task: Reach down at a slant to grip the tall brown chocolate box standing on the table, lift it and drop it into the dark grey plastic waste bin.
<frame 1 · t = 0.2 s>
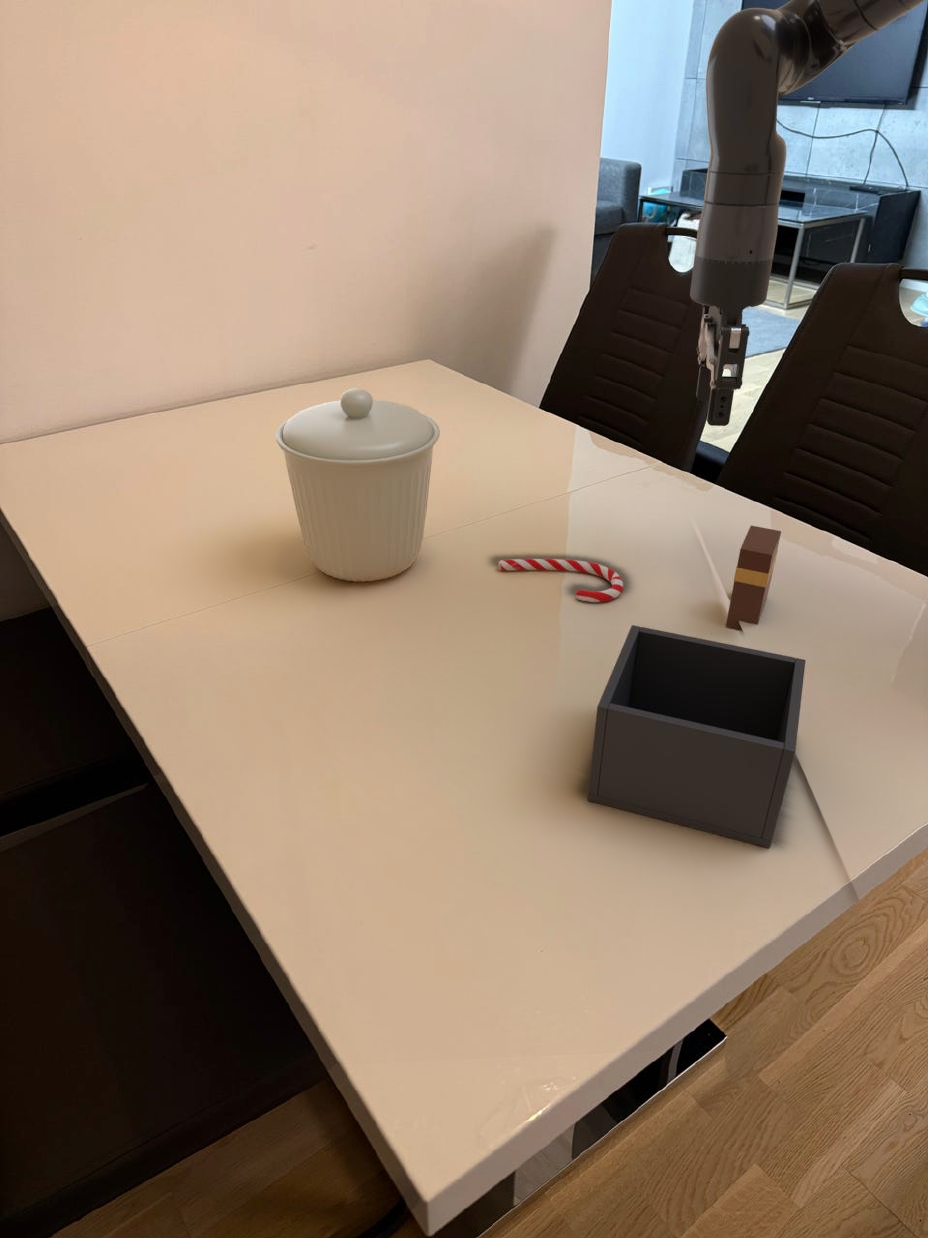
hand: (711, 411, 99), 20 cm above the table, tool pointing down, fingers open, 8 cm apart
candy cane: (558, 583, 107), on the table
canister: (365, 562, 110), on the table
chocolate box: (745, 617, 100), on the table
waste bin: (688, 774, 78), on the table
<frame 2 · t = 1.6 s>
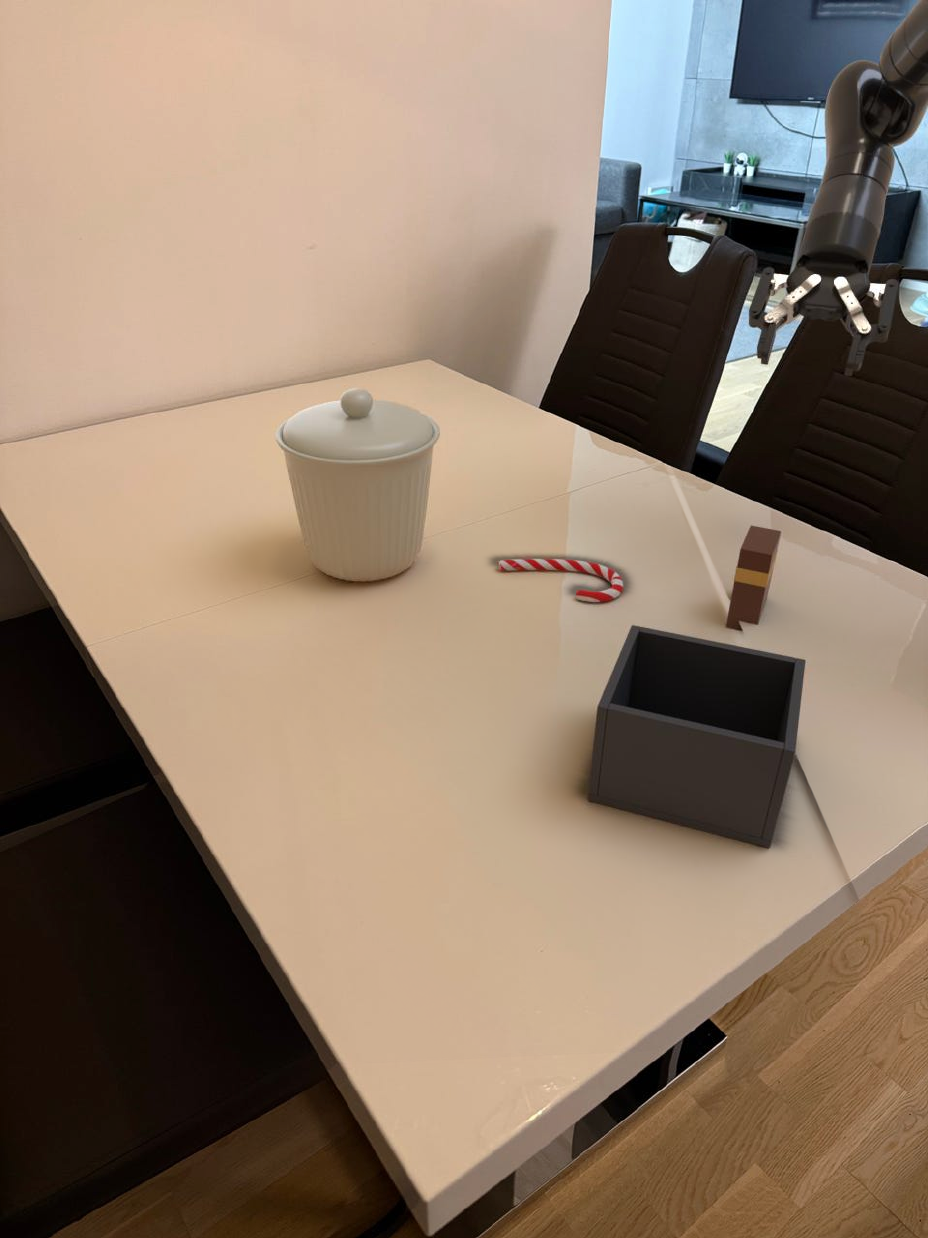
hand: (805, 366, 96), 25 cm above the table, tool tilted 45°, fingers open, 8 cm apart
nothing on the table moved.
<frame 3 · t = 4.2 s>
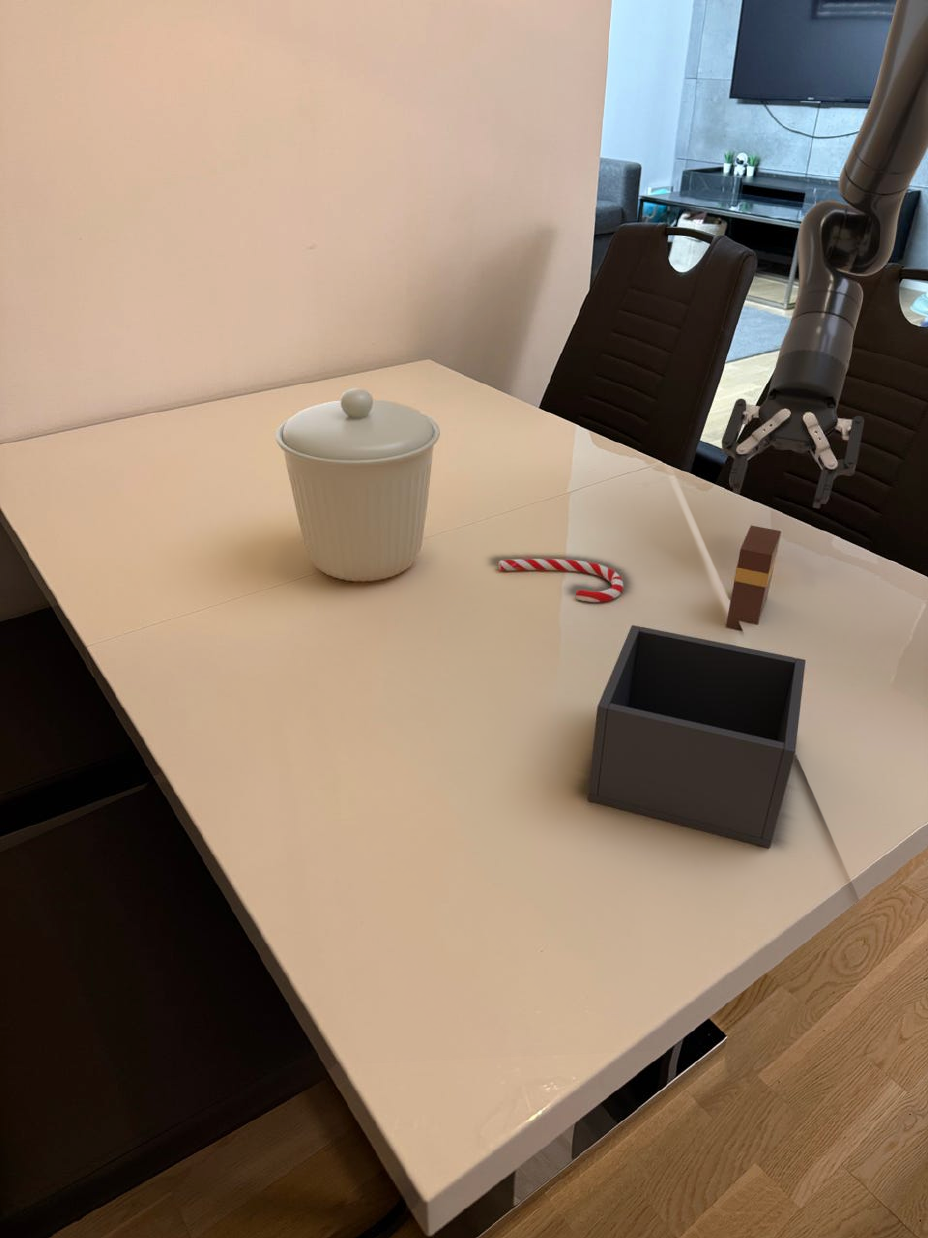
hand: (775, 497, 100), 11 cm above the table, tool tilted 45°, fingers open, 8 cm apart
nothing on the table moved.
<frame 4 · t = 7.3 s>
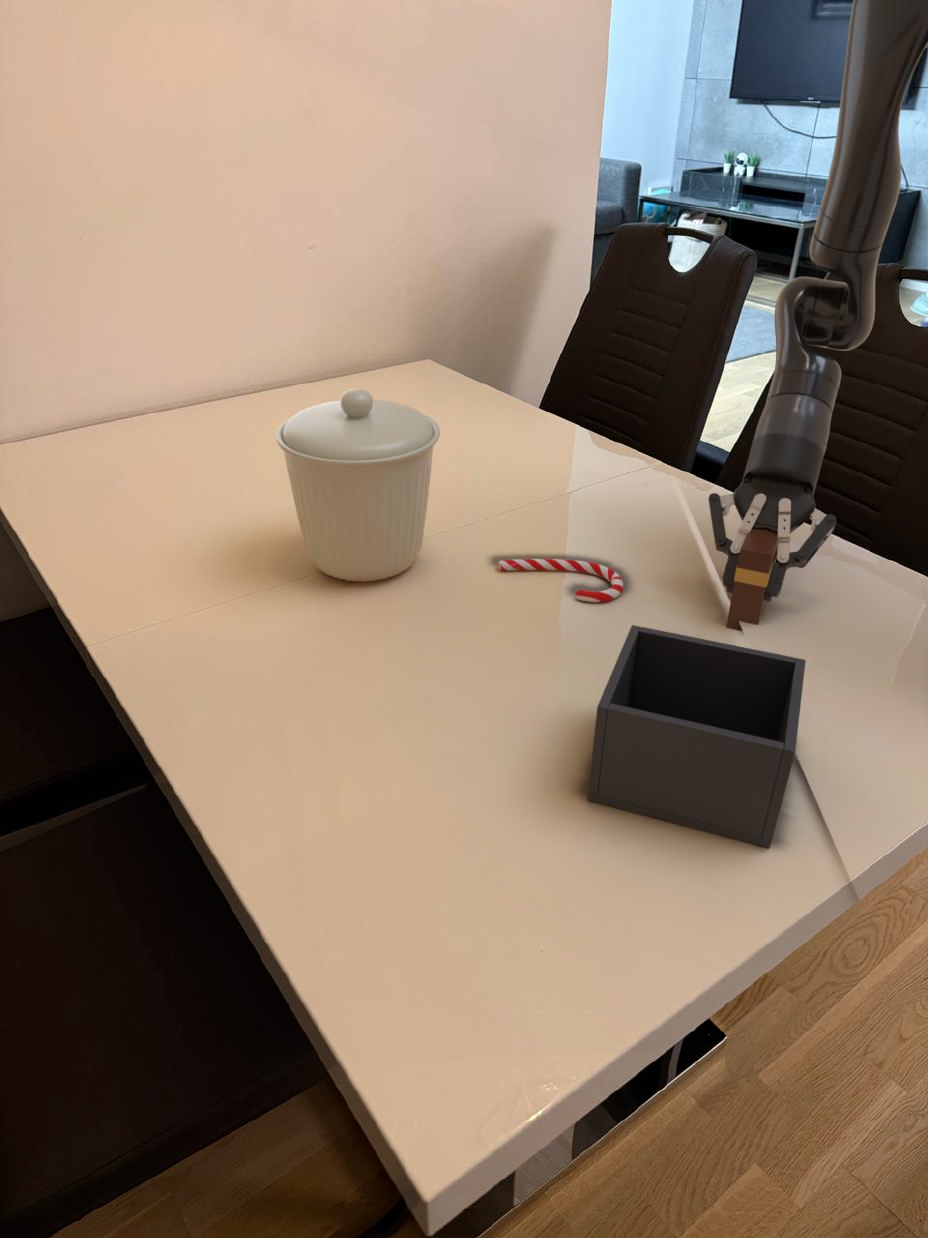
hand: (749, 594, 96), 4 cm above the table, tool tilted 45°, fingers closed on chocolate box, 3 cm apart
chocolate box: (746, 617, 100), on the table, touching gripper
everything else where it was.
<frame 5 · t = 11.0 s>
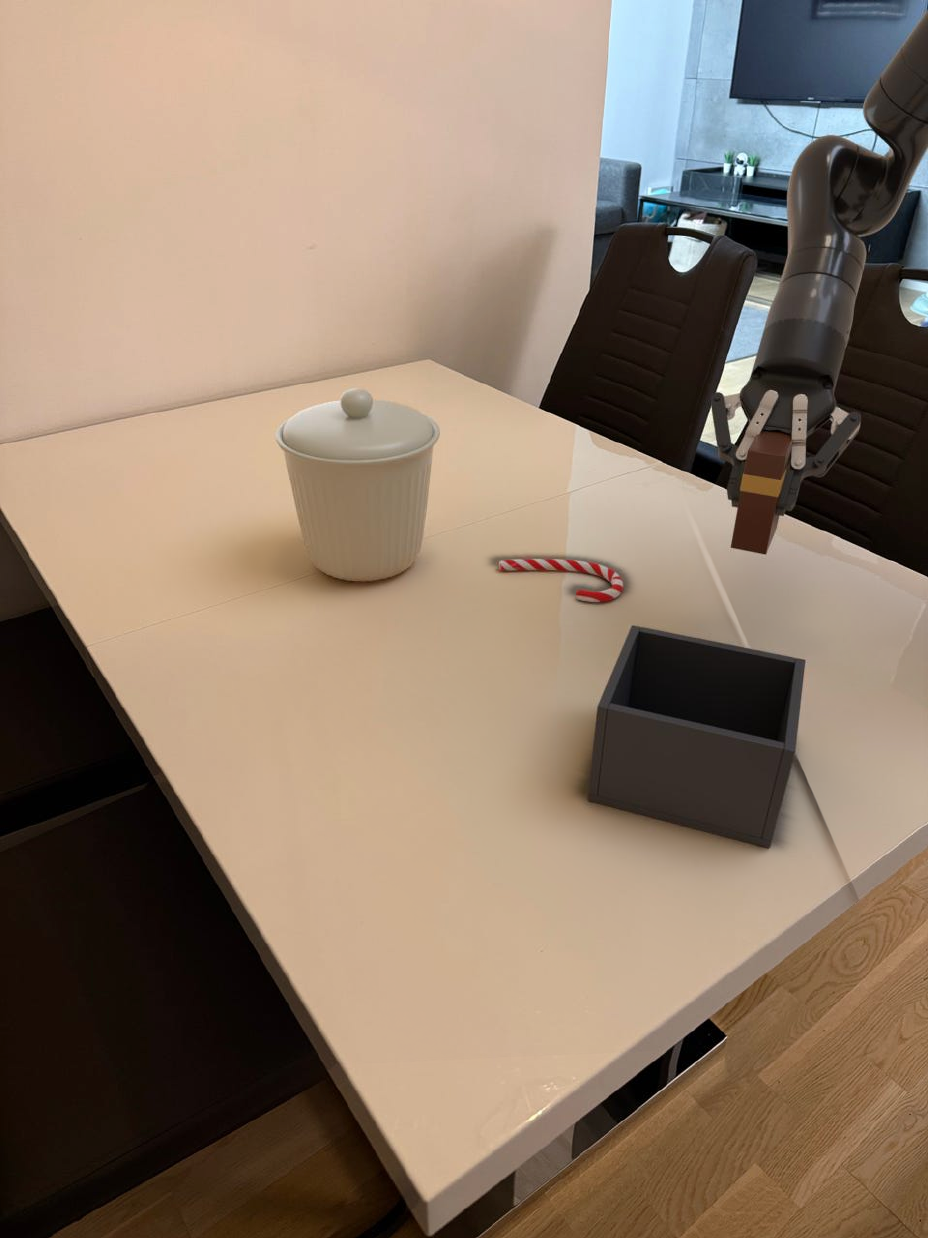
hand: (757, 507, 82), 18 cm above the table, tool tilted 45°, fingers closed on chocolate box, 3 cm apart
chocolate box: (754, 538, 86), point 14 cm above the table, touching gripper
everything else where it was.
when the fingers open (13 cm above the table, at t = 15.2 s): chocolate box drops 7 cm, resting on waste bin.
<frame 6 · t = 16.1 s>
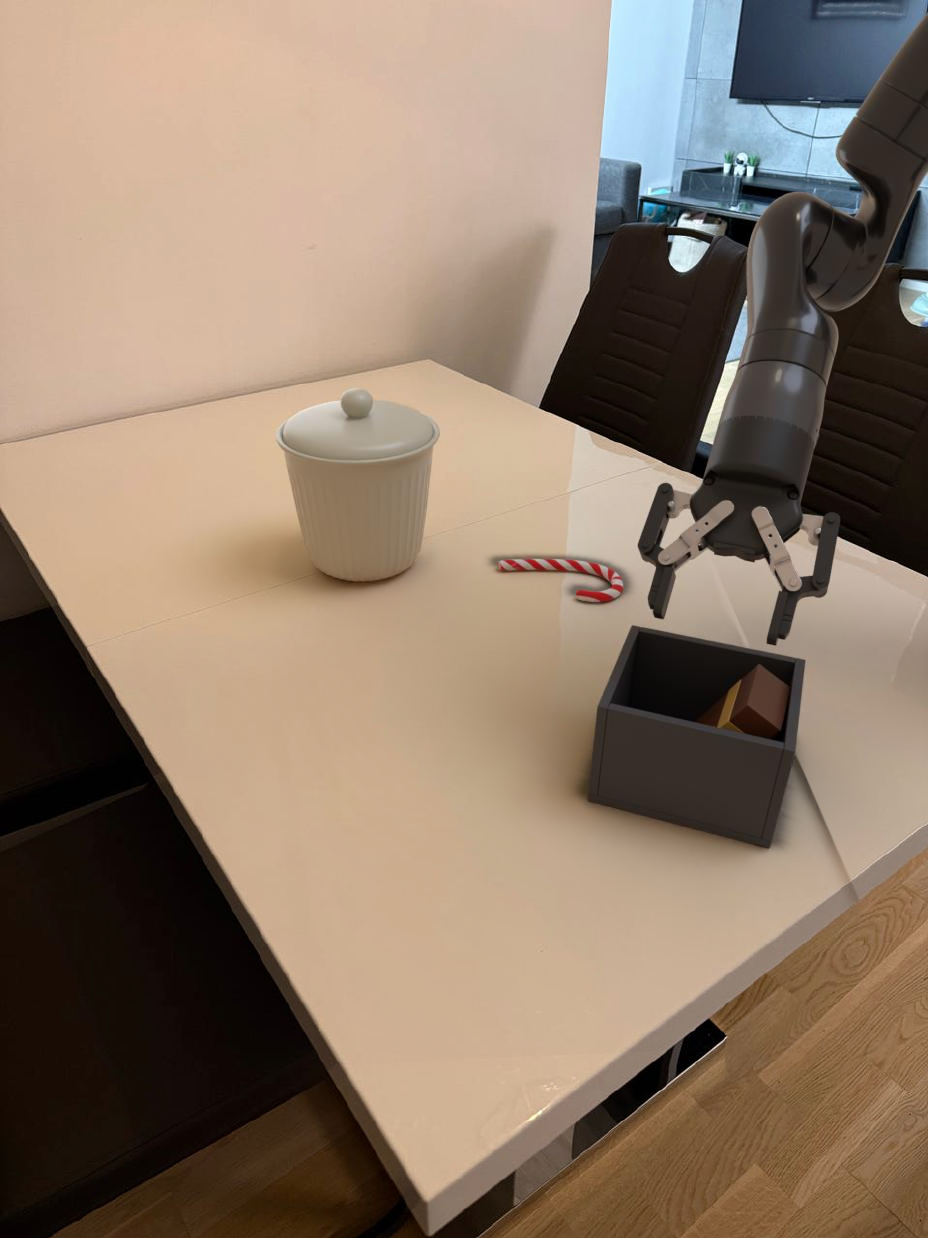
hand: (713, 629, 69), 16 cm above the table, tool tilted 45°, fingers open, 8 cm apart
chocolate box: (694, 760, 77), point 2 cm above the table, tilted 30°, touching waste bin
everything else where it was.
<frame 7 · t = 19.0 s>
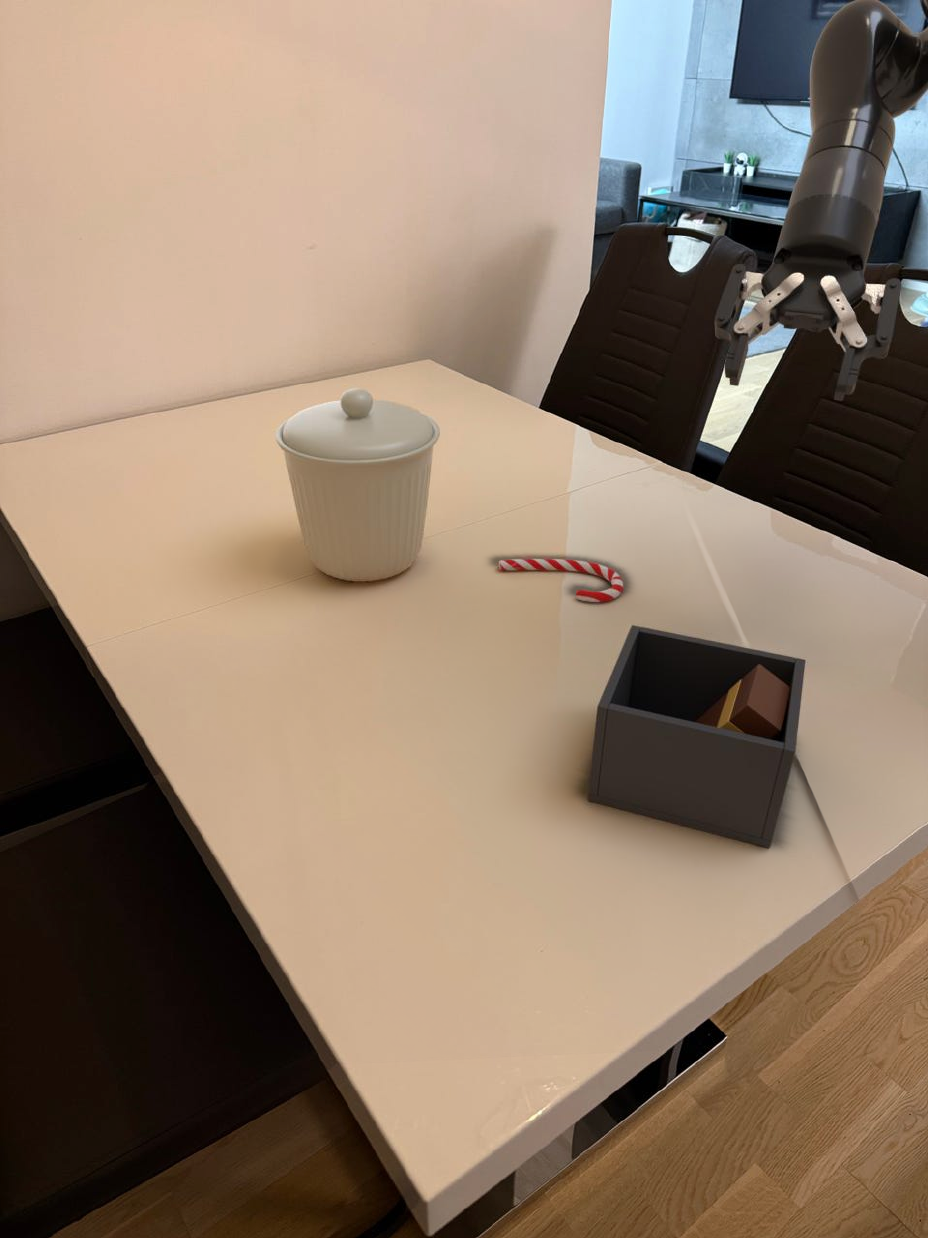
hand: (785, 388, 76), 29 cm above the table, tool tilted 45°, fingers open, 8 cm apart
nothing on the table moved.
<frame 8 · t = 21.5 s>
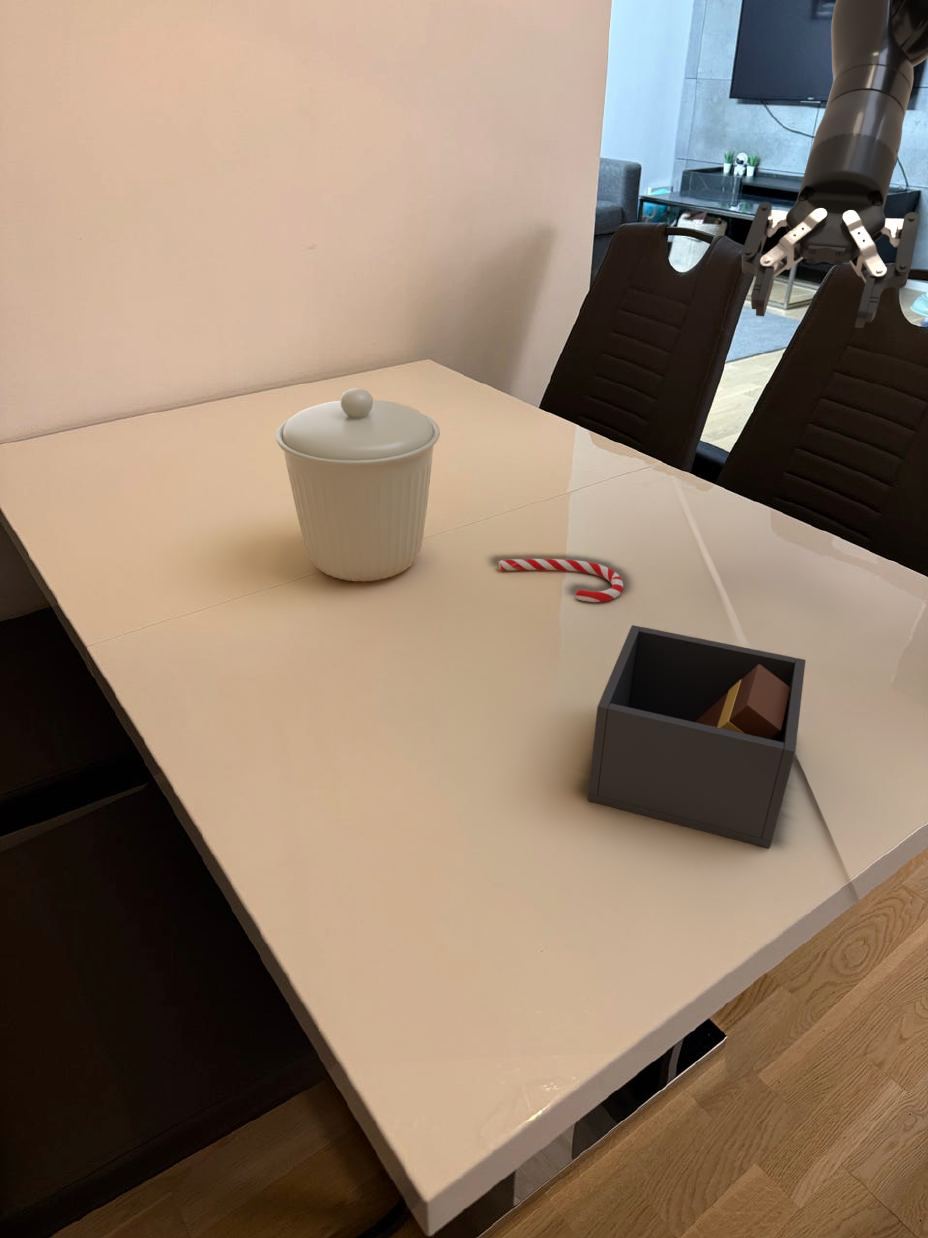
hand: (809, 316, 81), 33 cm above the table, tool tilted 45°, fingers open, 8 cm apart
nothing on the table moved.
at the end: chocolate box inside the target area in the waste bin (0.3 cm from its centre), point 1.6 cm above the waste bin's base; the gripper is holding nothing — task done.
